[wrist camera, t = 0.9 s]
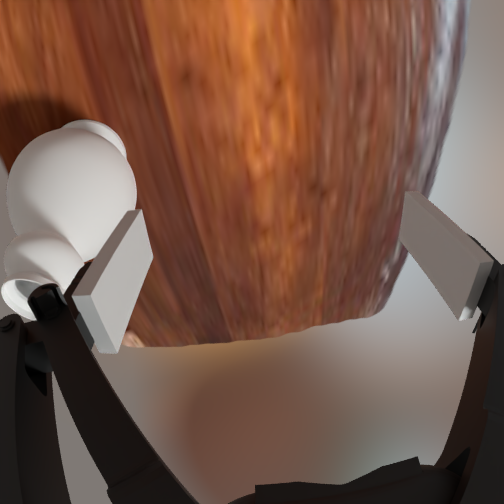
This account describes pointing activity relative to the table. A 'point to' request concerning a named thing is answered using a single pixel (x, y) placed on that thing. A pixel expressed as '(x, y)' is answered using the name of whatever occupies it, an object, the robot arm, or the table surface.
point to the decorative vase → (63, 206)
